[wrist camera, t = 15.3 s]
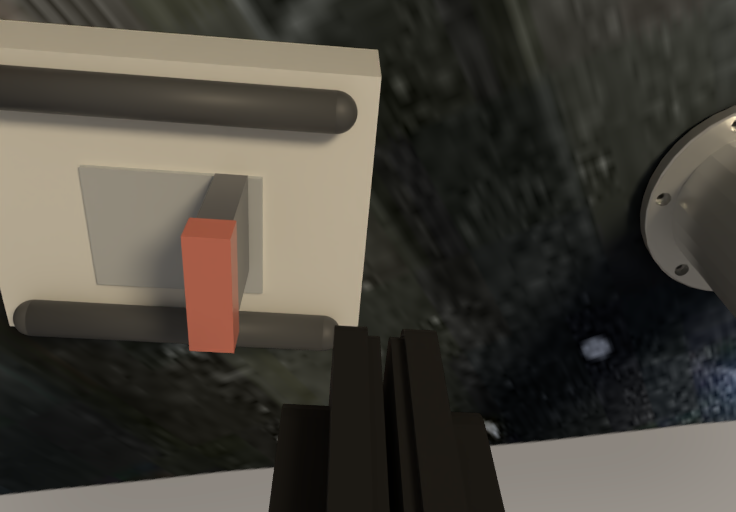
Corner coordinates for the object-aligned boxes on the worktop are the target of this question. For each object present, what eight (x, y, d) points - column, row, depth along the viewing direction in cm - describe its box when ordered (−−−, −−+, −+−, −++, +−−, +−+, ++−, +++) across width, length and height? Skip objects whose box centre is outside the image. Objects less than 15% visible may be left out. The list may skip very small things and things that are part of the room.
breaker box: (377, 49, 35) (382, 90, 29) (355, 295, 43) (356, 366, 37) (-11, 18, 33) (-89, 54, 27) (44, 277, 42) (-7, 348, 36)
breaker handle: (251, 172, 32) (230, 239, 26) (253, 273, 35) (234, 352, 30) (210, 169, 32) (180, 236, 26) (215, 271, 35) (189, 350, 30)
